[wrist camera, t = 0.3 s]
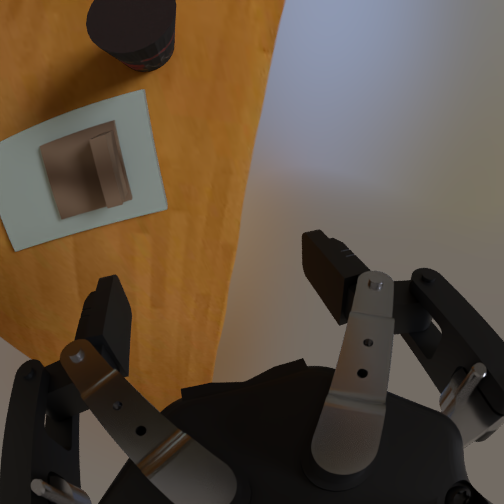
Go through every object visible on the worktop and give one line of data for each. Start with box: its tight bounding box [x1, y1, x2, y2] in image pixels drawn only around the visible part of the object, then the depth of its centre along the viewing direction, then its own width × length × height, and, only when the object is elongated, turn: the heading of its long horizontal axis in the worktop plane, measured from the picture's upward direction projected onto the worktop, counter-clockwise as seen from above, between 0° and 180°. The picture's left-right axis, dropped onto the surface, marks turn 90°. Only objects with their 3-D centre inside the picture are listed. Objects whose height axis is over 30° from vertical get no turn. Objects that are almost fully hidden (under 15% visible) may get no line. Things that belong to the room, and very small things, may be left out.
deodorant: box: [86, 0, 176, 72], centre depth 19 cm, size 6×6×15 cm
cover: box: [40, 120, 133, 220], centre depth 26 cm, size 9×9×5 cm
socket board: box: [0, 89, 167, 252], centre depth 29 cm, size 14×22×2 cm, turn 97°
